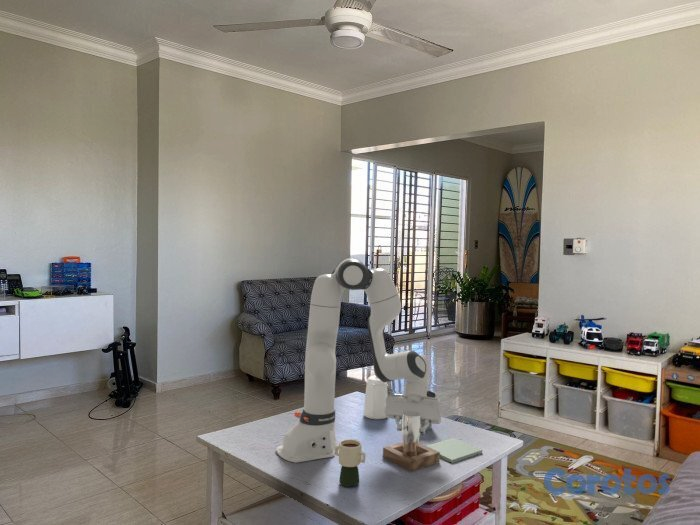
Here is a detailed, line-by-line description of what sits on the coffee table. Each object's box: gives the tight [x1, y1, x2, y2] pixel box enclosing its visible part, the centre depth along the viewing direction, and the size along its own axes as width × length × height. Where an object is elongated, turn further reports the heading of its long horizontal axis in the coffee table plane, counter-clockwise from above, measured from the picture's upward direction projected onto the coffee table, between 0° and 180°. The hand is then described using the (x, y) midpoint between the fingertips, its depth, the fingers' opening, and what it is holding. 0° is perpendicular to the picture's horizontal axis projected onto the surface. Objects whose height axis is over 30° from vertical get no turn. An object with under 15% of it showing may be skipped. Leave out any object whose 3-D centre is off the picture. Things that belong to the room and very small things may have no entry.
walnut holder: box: [382, 441, 441, 473], centre depth 184 cm, size 14×14×4 cm
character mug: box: [334, 438, 366, 487], centre depth 165 cm, size 11×7×13 cm, turn 59°
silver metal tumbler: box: [400, 410, 421, 457], centre depth 184 cm, size 7×7×15 cm
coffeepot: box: [363, 374, 389, 420], centre depth 228 cm, size 11×25×19 cm, turn 168°
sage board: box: [426, 437, 483, 464], centre depth 193 cm, size 16×14×1 cm
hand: (410, 431), depth 183 cm, fingers closed on silver metal tumbler, 7 cm apart
